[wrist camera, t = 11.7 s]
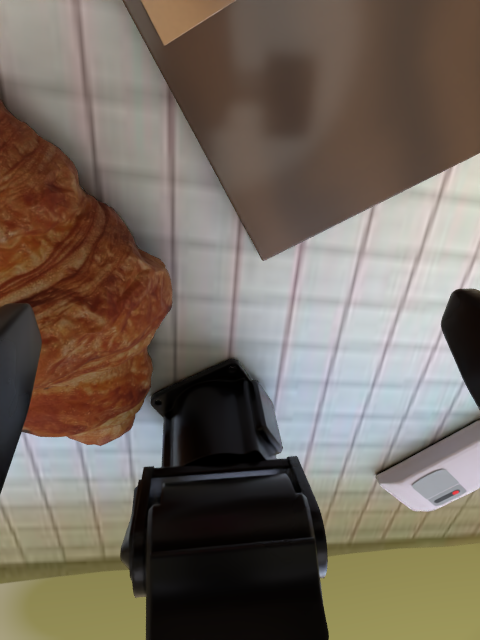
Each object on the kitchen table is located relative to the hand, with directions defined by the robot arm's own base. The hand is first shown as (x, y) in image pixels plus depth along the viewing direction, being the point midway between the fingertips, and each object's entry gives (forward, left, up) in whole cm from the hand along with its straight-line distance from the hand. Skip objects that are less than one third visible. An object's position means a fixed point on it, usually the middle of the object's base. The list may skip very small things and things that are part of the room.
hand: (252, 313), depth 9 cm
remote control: (+6, -32, -13) cm, 35 cm away
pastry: (-11, -2, -13) cm, 17 cm away
